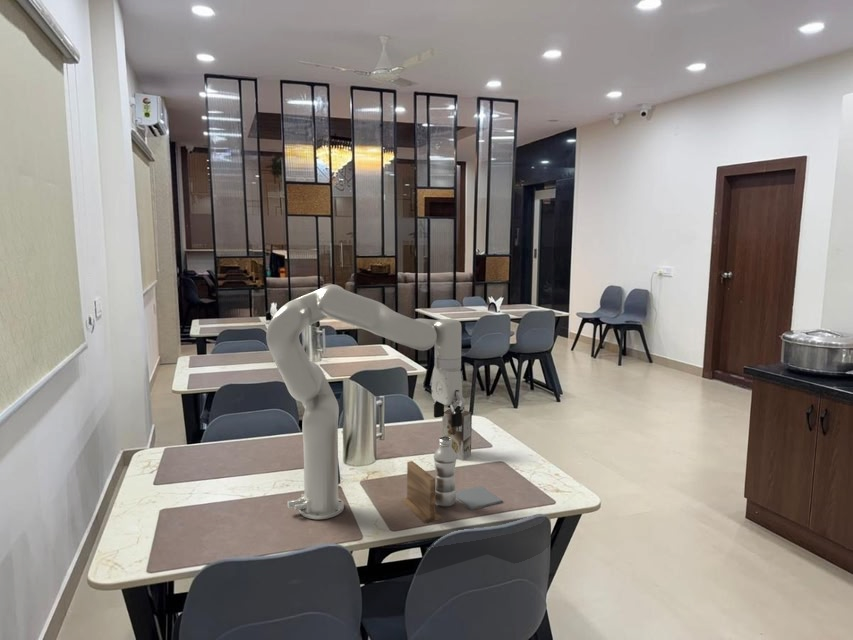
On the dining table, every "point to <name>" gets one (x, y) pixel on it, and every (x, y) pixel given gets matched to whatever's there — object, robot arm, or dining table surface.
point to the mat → (477, 497)
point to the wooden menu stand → (420, 493)
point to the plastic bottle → (445, 473)
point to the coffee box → (458, 433)
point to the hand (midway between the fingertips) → (447, 421)
